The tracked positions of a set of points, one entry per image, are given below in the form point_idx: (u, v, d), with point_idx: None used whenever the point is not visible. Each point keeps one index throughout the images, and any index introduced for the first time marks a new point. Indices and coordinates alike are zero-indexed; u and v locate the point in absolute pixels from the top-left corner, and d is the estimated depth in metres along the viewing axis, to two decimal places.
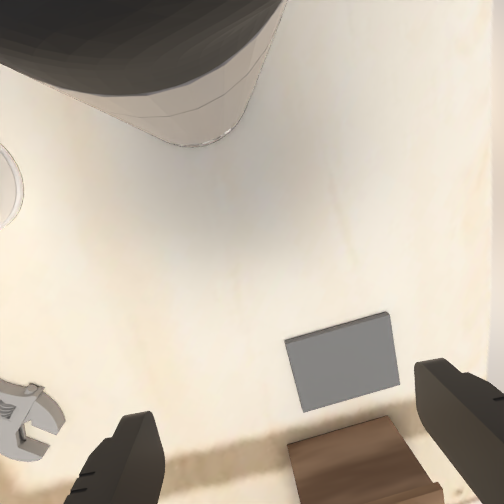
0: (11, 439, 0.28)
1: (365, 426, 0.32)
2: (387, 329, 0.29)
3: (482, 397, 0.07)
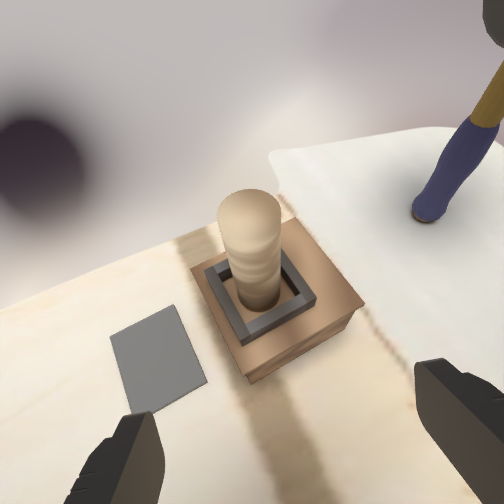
0: None
1: None
2: (122, 333, 0.36)
3: (482, 397, 0.07)
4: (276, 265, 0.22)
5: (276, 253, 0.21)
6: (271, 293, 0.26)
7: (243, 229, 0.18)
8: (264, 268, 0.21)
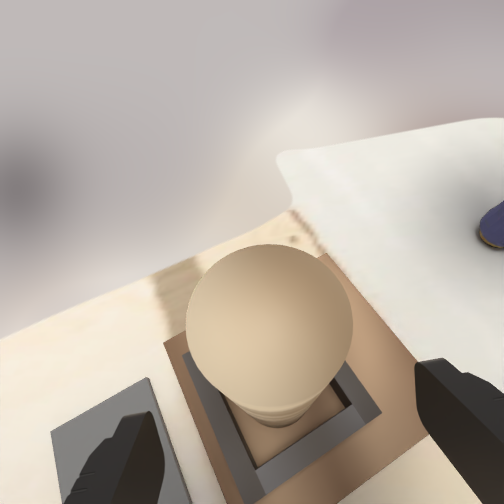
0: None
1: None
2: (69, 426, 0.24)
3: (482, 397, 0.07)
4: None
5: None
6: None
7: (254, 367, 0.07)
8: (299, 412, 0.10)
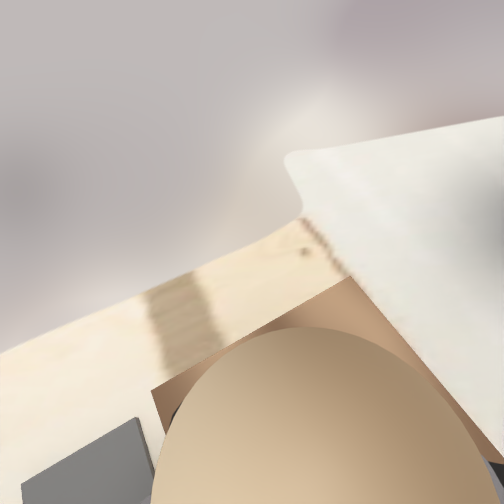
0: None
1: None
2: (43, 477, 0.20)
3: None
4: None
5: None
6: None
7: None
8: None
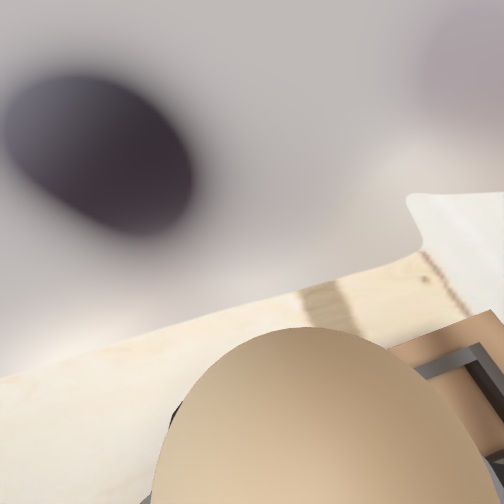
0: None
1: None
2: None
3: None
4: None
5: None
6: None
7: None
8: None
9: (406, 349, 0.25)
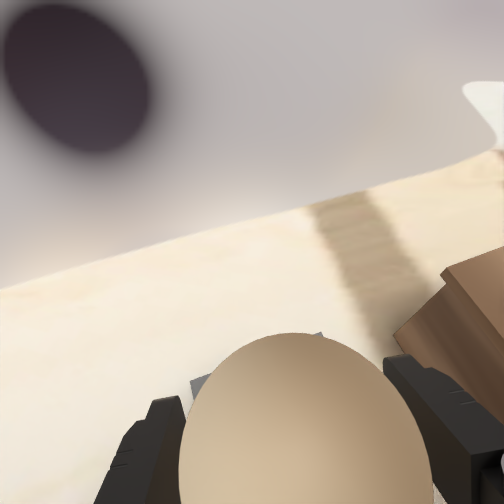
0: None
1: None
2: None
3: (438, 390, 0.08)
4: None
5: None
6: None
7: None
8: None
9: None
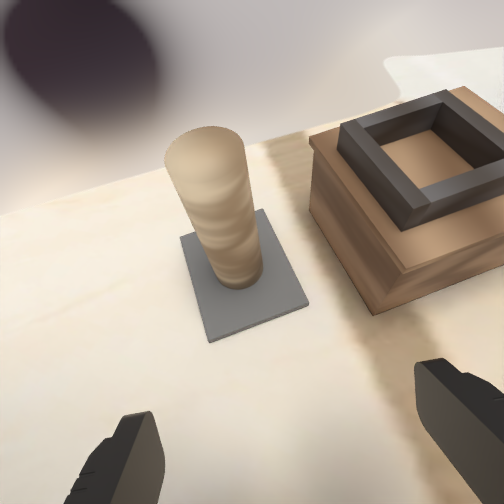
0: None
1: (322, 228, 0.27)
2: (196, 235, 0.28)
3: (482, 397, 0.07)
4: (248, 225, 0.18)
5: (245, 207, 0.17)
6: (249, 264, 0.22)
7: (195, 171, 0.15)
8: (231, 227, 0.17)
9: None
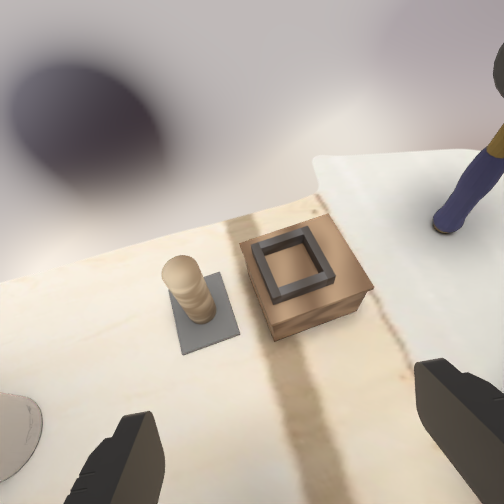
0: None
1: (253, 286, 0.45)
2: None
3: (482, 397, 0.07)
4: (202, 298, 0.36)
5: (200, 292, 0.35)
6: (205, 313, 0.40)
7: (175, 281, 0.32)
8: (193, 301, 0.35)
9: (270, 236, 0.40)
